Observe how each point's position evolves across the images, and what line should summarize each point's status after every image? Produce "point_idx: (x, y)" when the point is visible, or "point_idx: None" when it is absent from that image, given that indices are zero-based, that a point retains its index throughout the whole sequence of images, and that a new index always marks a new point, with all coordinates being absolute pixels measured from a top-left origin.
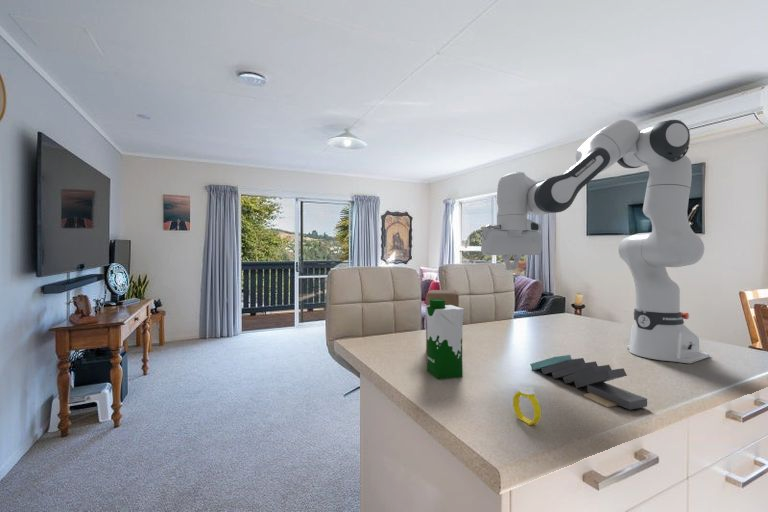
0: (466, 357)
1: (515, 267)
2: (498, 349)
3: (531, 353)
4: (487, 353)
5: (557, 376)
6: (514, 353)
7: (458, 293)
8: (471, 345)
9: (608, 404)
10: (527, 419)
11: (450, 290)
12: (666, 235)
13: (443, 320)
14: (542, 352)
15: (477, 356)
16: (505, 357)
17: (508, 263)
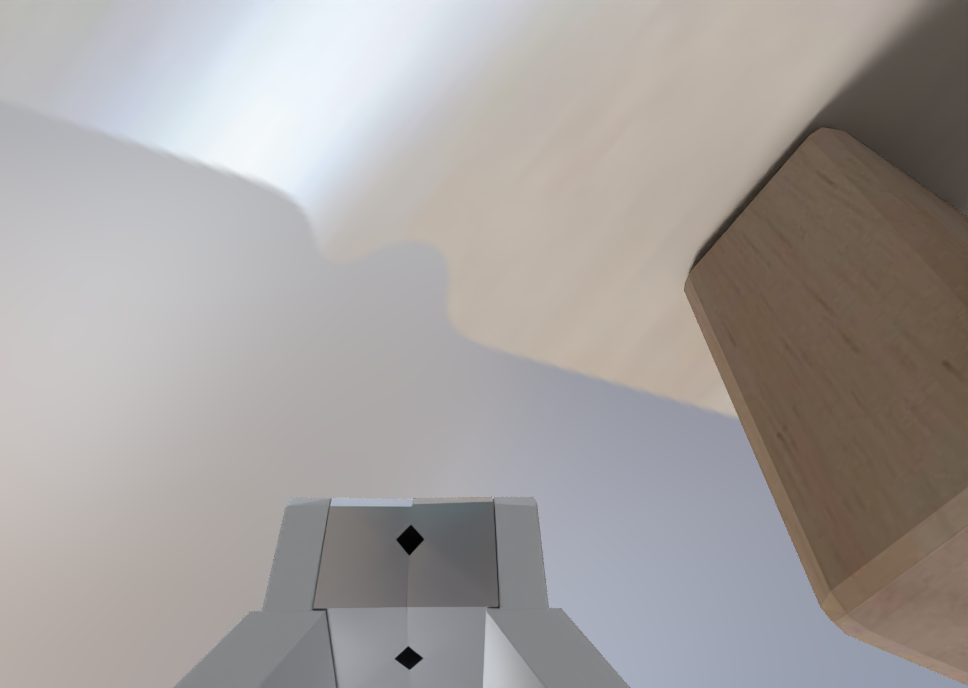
0: (750, 114)
1: (344, 535)
2: (401, 207)
3: (217, 35)
4: (544, 148)
5: None
6: (351, 81)
7: (835, 589)
8: (518, 340)
9: None
10: None
11: (915, 639)
12: None
13: None
14: (109, 28)
15: (662, 109)
16: (487, 15)
17: (577, 644)
